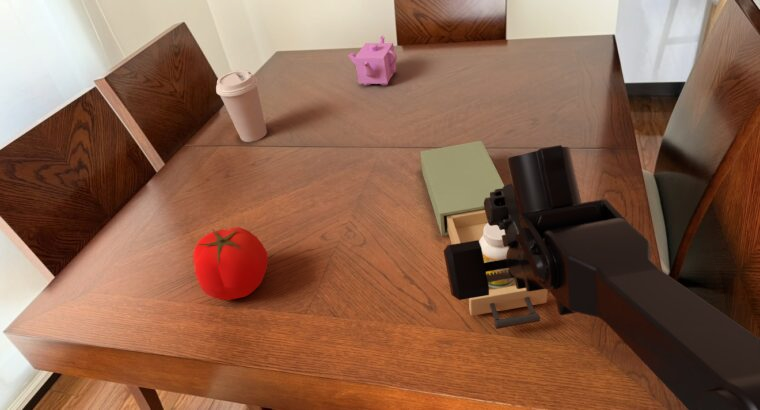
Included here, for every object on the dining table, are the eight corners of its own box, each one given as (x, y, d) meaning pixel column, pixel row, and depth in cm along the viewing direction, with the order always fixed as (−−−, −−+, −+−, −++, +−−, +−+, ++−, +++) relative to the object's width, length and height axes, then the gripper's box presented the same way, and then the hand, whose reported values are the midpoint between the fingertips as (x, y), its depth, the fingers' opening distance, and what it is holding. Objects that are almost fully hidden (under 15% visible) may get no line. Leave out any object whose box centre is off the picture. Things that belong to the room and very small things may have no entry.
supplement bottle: (516, 290, 73) (519, 243, 67) (479, 289, 74) (478, 243, 68) (514, 263, 77) (516, 216, 71) (478, 263, 78) (478, 217, 72)
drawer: (557, 325, 69) (559, 308, 67) (478, 339, 69) (478, 323, 67) (507, 220, 86) (508, 204, 84) (444, 231, 86) (443, 215, 84)
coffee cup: (271, 141, 119) (253, 83, 109) (232, 148, 119) (209, 91, 109) (274, 121, 126) (257, 65, 117) (236, 127, 126) (216, 72, 117)
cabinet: (511, 224, 86) (512, 201, 83) (441, 236, 86) (440, 213, 83) (481, 162, 101) (481, 140, 98) (422, 172, 101) (420, 151, 98)
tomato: (192, 295, 84) (164, 248, 77) (242, 251, 90) (221, 204, 83) (240, 324, 78) (215, 275, 70) (289, 274, 84) (272, 226, 77)
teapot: (363, 65, 145) (357, 32, 139) (407, 65, 141) (403, 30, 135) (342, 95, 132) (335, 60, 126) (390, 96, 128) (385, 59, 122)
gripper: (625, 163, 50) (570, 185, 66) (441, 195, 50) (429, 210, 66) (651, 274, 49) (588, 270, 64) (462, 306, 49) (445, 294, 65)
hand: (512, 258), depth 65 cm, fingers open, 9 cm apart
